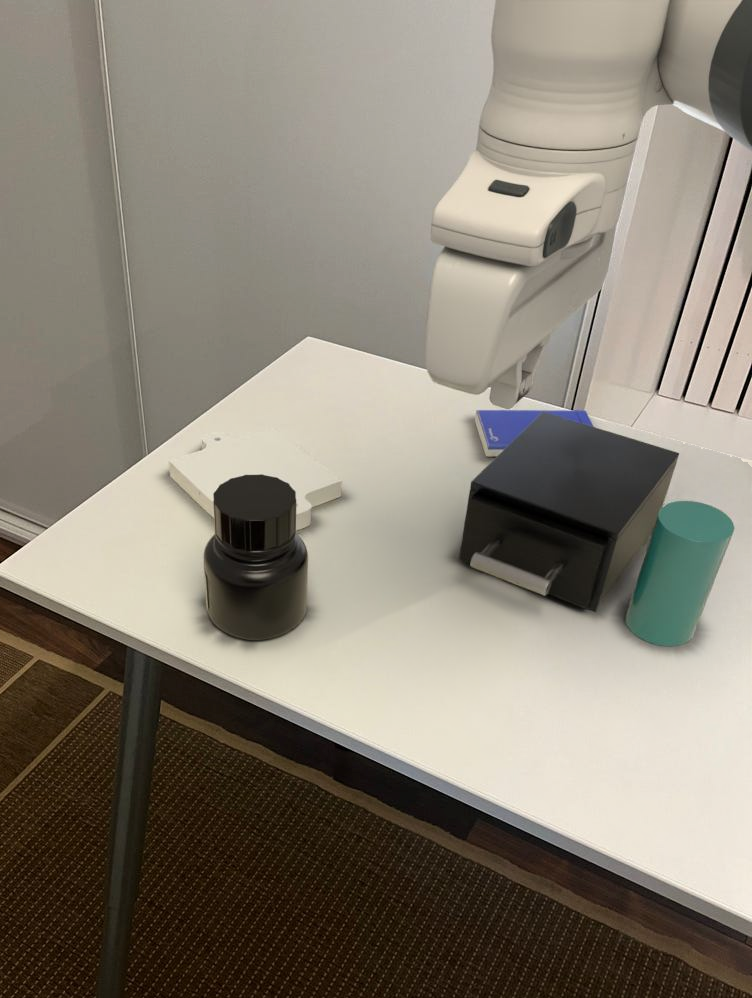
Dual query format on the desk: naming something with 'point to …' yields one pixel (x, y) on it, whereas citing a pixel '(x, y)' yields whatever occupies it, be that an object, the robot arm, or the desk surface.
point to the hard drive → (513, 425)
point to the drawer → (532, 550)
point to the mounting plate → (255, 469)
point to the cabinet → (584, 485)
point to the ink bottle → (255, 559)
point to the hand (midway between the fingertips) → (509, 398)
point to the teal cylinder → (678, 572)
